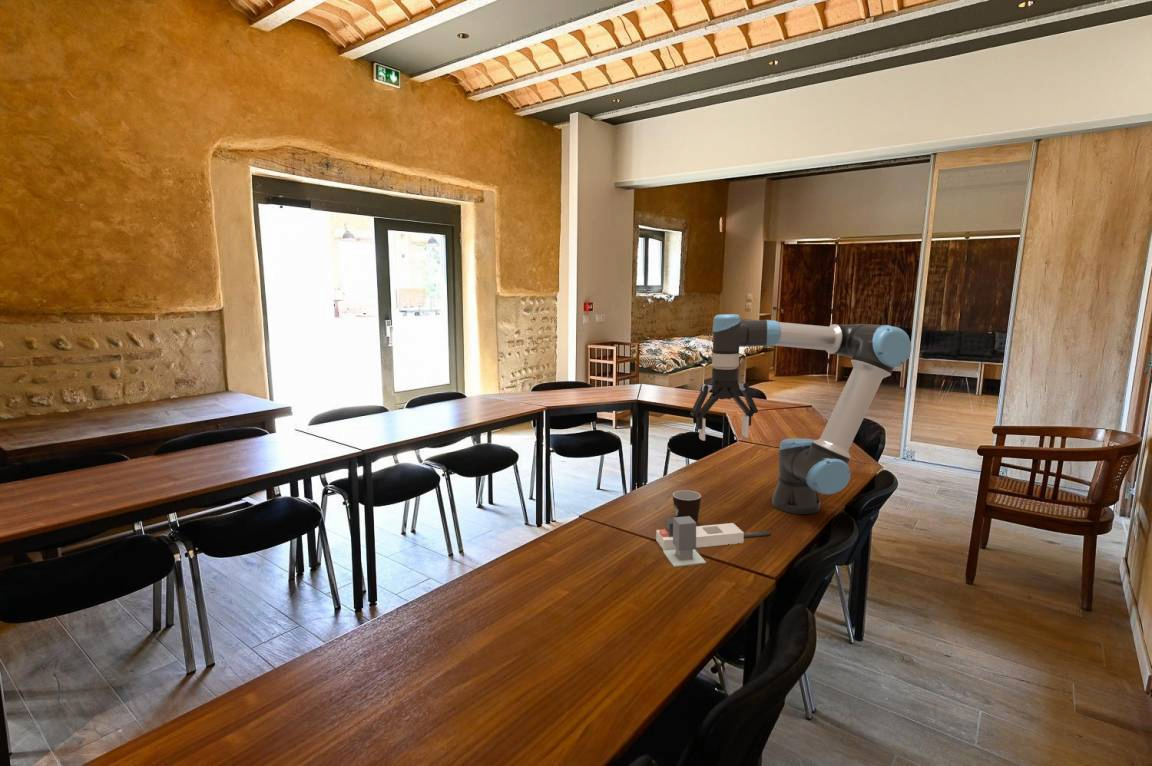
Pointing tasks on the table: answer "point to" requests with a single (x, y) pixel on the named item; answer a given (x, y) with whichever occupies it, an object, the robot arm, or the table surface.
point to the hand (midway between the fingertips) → (723, 438)
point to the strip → (706, 535)
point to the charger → (684, 537)
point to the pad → (677, 562)
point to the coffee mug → (687, 504)
